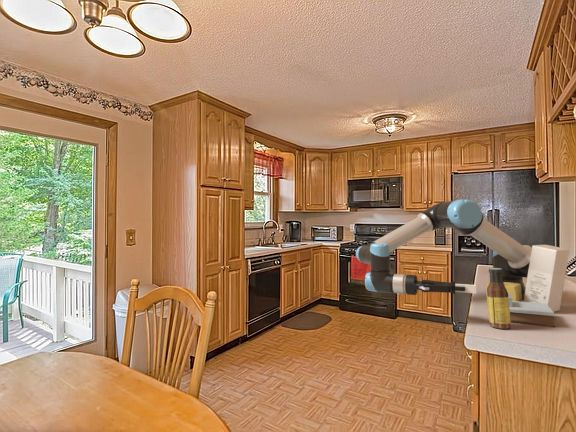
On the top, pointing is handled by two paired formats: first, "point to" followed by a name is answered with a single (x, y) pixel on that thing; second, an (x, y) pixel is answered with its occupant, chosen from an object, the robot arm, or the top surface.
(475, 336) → the top surface
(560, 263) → the tall white carton
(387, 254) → the robot arm
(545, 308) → the lid
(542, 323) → the brown flat block
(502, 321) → the sauce bottle
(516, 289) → the cheese
